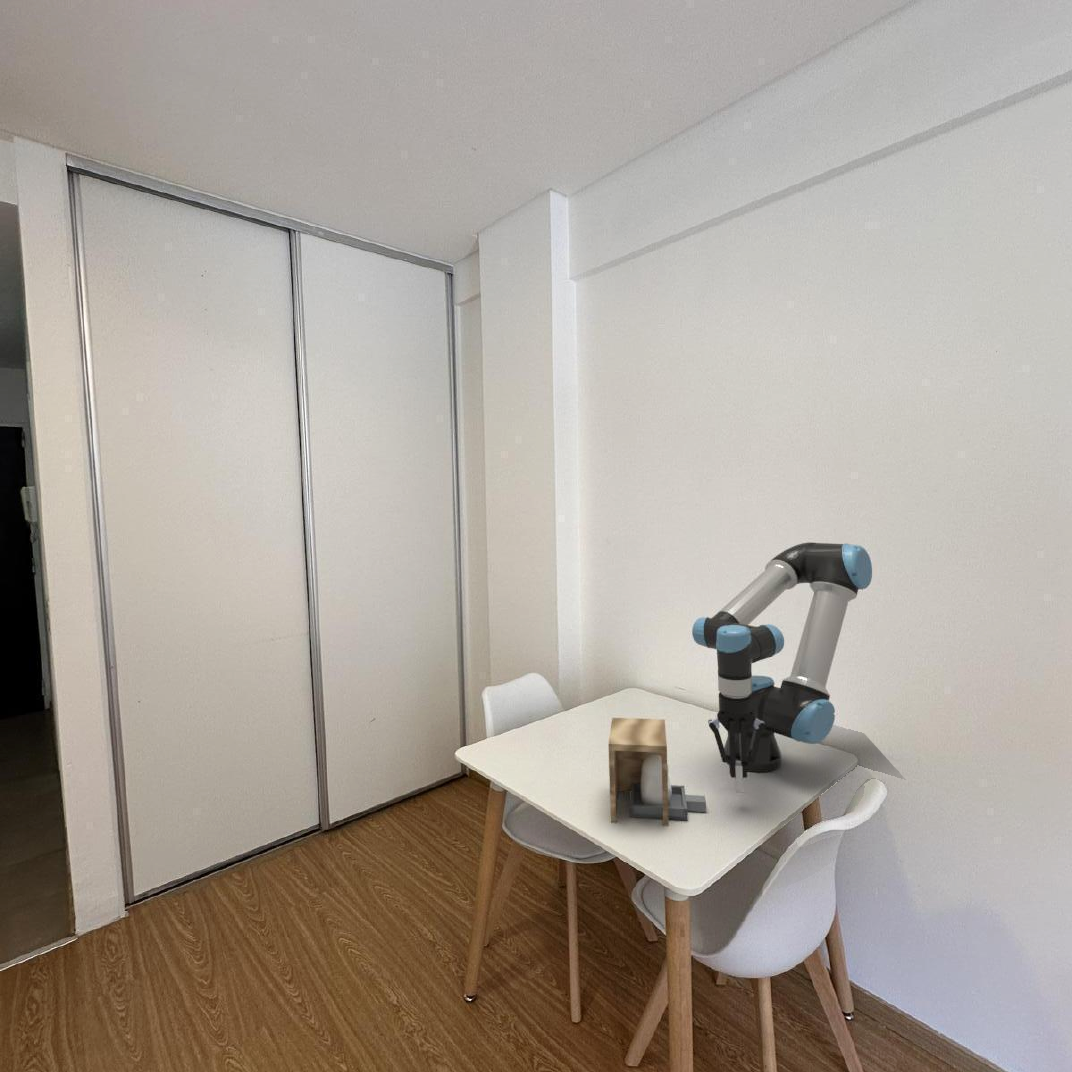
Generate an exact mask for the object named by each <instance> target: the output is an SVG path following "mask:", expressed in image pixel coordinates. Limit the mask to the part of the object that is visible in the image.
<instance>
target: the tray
mask: <svg viewBox="0 0 1072 1072" xmlns="http://www.w3.org/2000/svg"><path fill="white" fill-rule="evenodd" d="M671 788H672V794H671V797H670V799H669V801H668V819H669V820H675V821H676V820H678V821H679V820H680V821H688V819H689V818H688V812H698V813H707V800H706V796H705V795H700V794H699V795H696V794H686V789H685V785H678V784H677V785H676V784H675V785H674V784H671ZM629 792H630V794H629V796H630V797H629V817H631V818H646V819H661V820H663V806H654V805H645V804H644V803H643V801H642V798H641V789H640V784H639V783H631V791H629Z"/></svg>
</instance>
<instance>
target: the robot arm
mask: <svg viewBox="0 0 1072 1072" xmlns="http://www.w3.org/2000/svg"><path fill="white" fill-rule="evenodd" d="M872 578H873V564H872V561H871V557H870V555H869V553H868V551H867V550H866V549H865V547H863V546H861V545H858V544H850V543H829V542H826V543H825V542H802V543H799V544H796V545H793V546H791V547H789V548H786V549H785V550H784V551H781V552H780V553H778V554H777V555H775V556H774V557H773V558H772V559H770V561H768V563H767V564H766V565H765V568H764V570H763V572H762V573H760V574H759V575H758V576H757V577H756V578H755V579H754V580H753V581H752V582H750V583H749V584H748V585H747V586H746V587H745V588H743V590H741V591H740V592H739V593H738V594H737V595H736V596H735V597H733V599H731V600H730V601H729V602H728V603H727V604H726V605H725V606H724V607H722V608H721V609H720V610H719V611H718V612H717V613H716V614H715V615H713V616H712V617H708V616H707V617H703V616H702V617H699V618H697V619H696V620H695V622H694V623H693V625H692V629H691V632H692V638H693V640H694V642H695V643H696V645H699V646H702V647H706V648H708V649H713V650H716V657H717V660H716V661H717V685H718V686H717V687H718V692H719V693H718V712H717V713H716V716H717V717H715V718H713V719H708V721H707V723H708V726H709V728H710V730H711V731H712V732H713V735H714V737H715V742H716V744H717V745H716V746H717V747H718V751H719V754H720V757H721V758H720V759H721V762H723V764H724V763H725V764H728V765H729V768H728V769H729V775H730V777H731V778H734V789H735V792H736V793H737V794H743V793H744V781H743V780H744V779H746V778H748V772H757V773H767V772H771V771H775V770H777V769H779V768H780V767H781V766H782V753H781V750H780V747H779V745H778V744H779V743H778V741H777V738H776V736H775V734H778V735H781V736H784V737H786V738H789V739H792V740H794V741H796V742H801V743H804V744H805V743H806V744H809V745H816V744H819V743H821V742H822V741H823V740H825V739H826V738H827V737H828V735H829V734H830V733H831V731H832V728H833V726H834V723H835V719H836V714H835V713H836V710H835V706H834V704H833V703H832V702H831V701H830V698H831V694H830V693H829V692H828V689H827V688H826V686H827V683H828V679H829V674H830V672H831V669H832V668H831V667H832V665H833V661H834V657H835V652H836V649H837V646H838V642H839V638H840V635H841V631H842V627H843V624H844V620H845V615H846V613H847V609H848V604H849V602H850V601H852V600H855V599H856V598H857V596H858V593H859V590H865V589H867V588H868V587H869V586H870V584H871V582H872V580H873V579H872ZM800 584H809V588H811V590H812V591H813V594H812V595H813V596H812V598H811V602H810V606H809V609H808V613H807V616H806V618H805V619H806V620H805V622H804V627H803V631H802V634H801V637H800V641H799V645H798V647H797V652H796V655H795V658H794V662H793V665H792V669H791V672H790V675H789V676H787V677H786V678H784V679H782V681H781V685H780V687H777V686H775V682H774V679H773V678H771V676H766V675H753V674H752V668H753V667H752V664H754V663H755V664H756V663H757V662H759V661H760V662H761V661H762V660H766V659H769V658H772V657H774V656H776V655H777V654H779V653H781V651H783V649H784V646H785V637H784V634H783V632H782V631H781V630H780V629H779V628H778V627H777V626H775V625H773V624H769V623H768V624H761V625H759V626H756V625H755V626H753V625H750V624H751V623H752V622H753V621H754V620H755V619H756V618H757V617H758V616H760V615H761V614H762V613H763V612H764V611H765V610H766V609H767V608H768V607H769V606H770V605H771V604H772V603H773V602H774V601H775V600H776V599H777V598H779V596H781V594H783V593H784V592H785V591H786V590H791V589H793V588H795V587H796V586H797V585H800ZM720 724H721V725H722V726H723V728H724V729H725V730H726V731H727V738H726V741H725V743H724V744H723V741H722V737H721V734H720V731H719V729H720Z"/></svg>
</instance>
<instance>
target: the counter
mask: <svg viewBox="0 0 1072 1072" xmlns="http://www.w3.org/2000/svg"><path fill="white" fill-rule="evenodd" d="M666 732H667V731H666V719H665V718H663V719H662V718H639V717H638V718H637V717H635V718H633V717H611V725H610V732H609V737H608V772H609V775H608V776H609V807H610V823H617V818H618V817H617V814H618V805H619V795H620V793H619V792H620V791H621V792H622V791H623V792H631V783H639V784H641V774H642V765H643V762H644V760H645V759H646V758H647V757H648V756H649V755H652V754H657V755H660V756H662V798H663V819H662V826H663V827H664V826H665V827H666V826H667V827H668V826H669V824H670V823H669V820H670V819H668V777H669V775H668V776H667V764H668V746H667V743H668V742H667V733H666Z"/></svg>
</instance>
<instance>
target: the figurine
mask: <svg viewBox="0 0 1072 1072" xmlns="http://www.w3.org/2000/svg"><path fill="white" fill-rule="evenodd" d="M667 776H668V801H669V799H670V797H671V794H672V788H671V785H672V784H671V781H670V777H669V764H668V763H667ZM640 789H641V798H642V801H643V803H644V804H645V805H654V806H663V798H662V756H660V755H657V754H652V755H649V756H648V757H647V758H646V759H645V760H644V762H643V765H642V774H641V784H640Z"/></svg>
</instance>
